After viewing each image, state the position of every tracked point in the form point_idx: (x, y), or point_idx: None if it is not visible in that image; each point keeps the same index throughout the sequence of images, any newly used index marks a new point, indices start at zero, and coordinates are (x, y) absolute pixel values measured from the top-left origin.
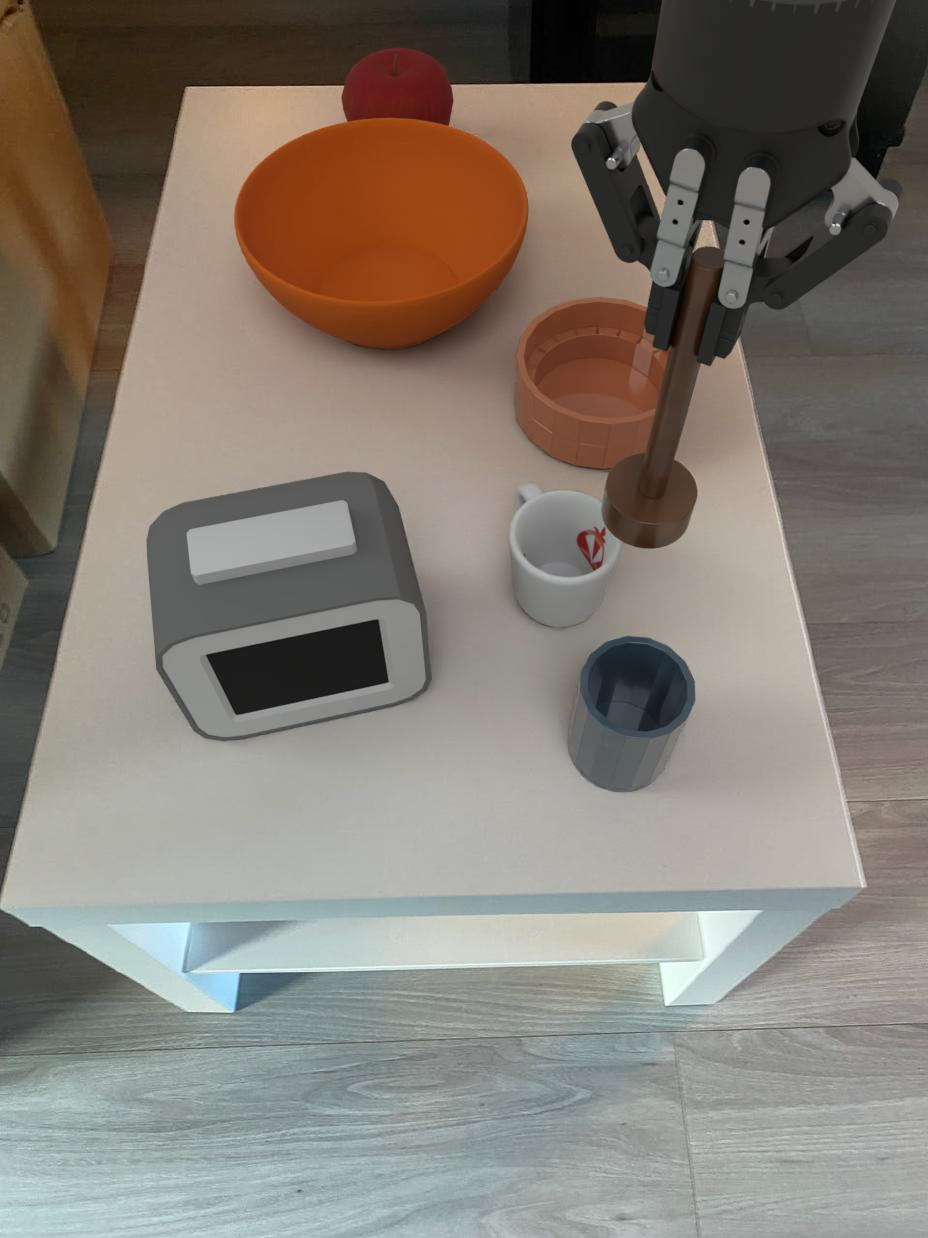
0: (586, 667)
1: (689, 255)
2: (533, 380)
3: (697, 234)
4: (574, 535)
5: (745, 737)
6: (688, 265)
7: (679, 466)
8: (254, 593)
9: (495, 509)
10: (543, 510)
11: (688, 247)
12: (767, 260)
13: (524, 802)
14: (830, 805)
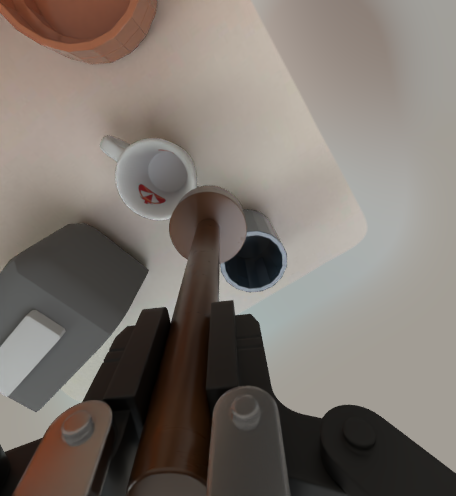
0: (222, 268)
1: (121, 470)
2: (25, 5)
3: (99, 490)
4: (155, 150)
5: (304, 194)
6: (130, 434)
7: (217, 197)
8: (43, 377)
9: (94, 132)
10: (128, 163)
11: (106, 480)
12: (301, 491)
13: (222, 282)
14: (355, 205)
